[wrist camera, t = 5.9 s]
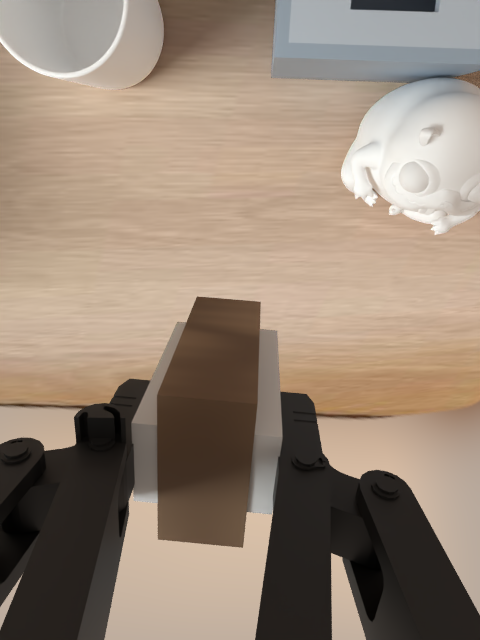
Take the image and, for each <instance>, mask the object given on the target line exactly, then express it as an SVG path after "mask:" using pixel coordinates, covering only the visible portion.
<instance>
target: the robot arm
mask: <svg viewBox="0 0 480 640" xmlns="http://www.w3.org/2000/svg"><path fill="white" fill-rule="evenodd" d="M185 325H186V322H177V324H176V326H175V328H174V331H173V333H172V335H171V337H170V339H169V342H168V344H167V346H166V348H165V350H164V352H163V355H162V357H161V359H160V361H159V363H158V366H157V368H156V370H155V372H154V374H153V377H152V379H151V381H148V380H138V379H129V380H127V381H126V382H124V383H123V384H122V385H120V386H119V387H118V389H117V391H116V393H115V394H114V397H113V398H112V400H111V401H110V404H107V403H102V404H94V405H91V406H88V407H85V408H84V409H82V410H80V411H79V412H78V413H77V414H76V415H75V417H74V422H75V432H76V445H75V446H72V447H68V448H63V449H56V450H49V451H44V446H43V444H42V443H41V442H40V441H38V440H35V439H33V438H17V439H13V440H9V441H7V442H4V443H2V444H0V606H1V605H2V603H3V602H4V600H5V599H6V597H7V596H8V595H9V593H10V592H11V590H12V588H13V587H14V586H15V584H16V583H17V581H18V580H19V578H20V577H21V575H22V574H23V575H22V578H21V580H20V583H19V585H18V588H17V590H16V593H15V595H14V598H13V600H12V602H11V605H10V607H9V610H8V612H7V615H6V617H5V620H4V622H3V625H2V627H1V630H0V640H104V638H105V632H106V628H107V622H108V617H109V613H110V608H111V602H112V597H113V592H114V587H115V582H116V577H117V572H118V567H119V562H120V557H121V552H122V546H123V542H124V537H125V531H126V526H127V521H128V516H129V502H128V501H129V498H130V496H131V493H132V490H134V501H142V502H152V503H158V481H157V394H158V391H159V389H160V386H161V384H162V381H163V379H164V376H165V374H166V372H167V369H168V367H169V364H170V362H171V359H172V357H173V354H174V352H175V350H176V347H177V345H178V342H179V340H180V337H181V335H182V332H183V330H184V328H185ZM272 510H273V517H272V524H271V532H270V539H269V546H268V553H267V560H266V567H265V574H264V581H263V588H262V595H261V602H260V609H259V617H258V624H257V630H256V638H255V640H332V625H331V624H332V621H331V620H332V616H331V615H332V614H331V553H333V554H335V555H338V556H340V557H343V563H344V567H345V570H346V573H347V577H348V580H349V583H350V587H351V590H352V593H353V597H354V600H355V603H356V607H357V610H358V613H359V617H360V620H361V623H362V626H363V630H364V633H365V637H366V640H480V615H479V613H478V611H477V609H476V608H475V606H474V604H473V602H472V600H471V599H470V597H469V595H468V593H467V591H466V589H465V587H464V586H463V584H462V582H461V580H460V578H459V576H458V575H457V573H456V571H455V569H454V568H453V565H452V564H451V562H450V560H449V558H448V556H447V554H446V553H445V551H444V549H443V547H442V545H441V543H440V542H439V540H438V538H437V536H436V534H435V533H434V531H433V529H432V527H431V525H430V523H429V522H428V520H427V518H426V516H425V514H424V512H423V510H422V509H421V507H420V505H419V503H418V501H417V499H416V498H415V496H414V494H413V492H412V490H411V489H410V487H409V486H408V485H407V484H406V482H405V481H403V480H402V479H400V478H399V477H398V476H396V475H393V474H392V473H389V472H386V471H380V470H374V471H368V472H366V473H365V474H363V475H362V476H361V478H360V479H357V478H354V477H351V476H348V475H346V474H343V473H341V472H339V471H337V470H336V469H334V468H333V467H331V466H330V464H329V461H328V459H327V458H326V457H325V455H324V454H323V453H322V448H321V442H320V435H319V430H318V424H317V418H316V412H315V406H314V403H313V402H312V400H311V399H310V398H309V397H308V395H307V394H299V393H288V392H280V377H279V357H278V338H277V331H275V330H264V329H260V337H259V372H258V405H257V414H256V424H255V434H254V444H253V454H252V463H251V473H250V483H249V493H248V503H247V512H253V513H264V514H272ZM23 572H24V573H23Z"/></svg>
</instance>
